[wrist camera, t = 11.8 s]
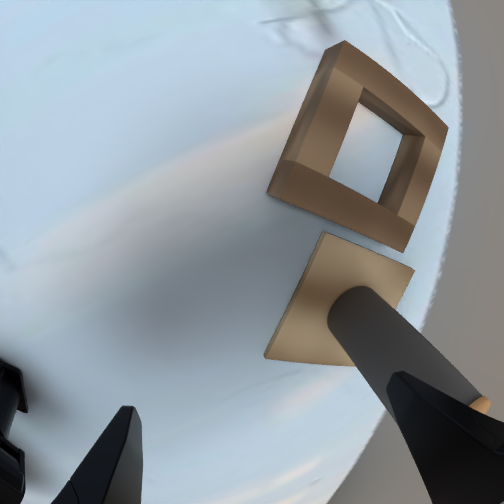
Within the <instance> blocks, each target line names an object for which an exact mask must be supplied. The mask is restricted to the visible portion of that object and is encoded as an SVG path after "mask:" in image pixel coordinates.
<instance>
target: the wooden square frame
mask: <svg viewBox="0 0 504 504" xmlns="http://www.w3.org/2000/svg"><path fill="white" fill-rule="evenodd" d="M358 102H359V103H361V104H362V105H364V106H365V107H367V108H368V109H370V110H371V111H372V112H374V113H375V114H377V115H378V116H379V117H381V118H382V119H383V120H385V121H386V122H387V123H389V124H390V125H391V126H393V127H394V128H395V129H397V130H398V131H399V132H400V133H402V134H403V138H402V141H401V143H400V146H399V149H398V152H397V155H396V158H395V160H394V163H393V166H392V169H391V171H390V174H389V177H388V179H387V182H386V184H385V187H384V189H383V192H382V194H381V197H380V199H379V202H378V204H377V203H376V202H374V201H372V200H370V199H369V198H367V197H365V196H363V195H361V194H359V193H358V192H356V191H354V190H352V189H350V188H348V187H346V186H344V185H343V184H341V183H339V182H337V181H335V180H333V179H331V178H329V175H330V172H331V170H332V167H333V165H334V162H335V160H336V157H337V155H338V152H339V150H340V147H341V145H342V142H343V140H344V137H345V135H346V132H347V129H348V127H349V124H350V122H351V119H352V116H353V114H354V111H355V108H356V106H357V103H358ZM448 128H449V127H448V126H447V125H446V124H445V123H444V122H443V121H442V120H441V119H440V118H439V117H438V116H437V115H436V114H435V113H434V112H433V111H432V110H431V109H430V108H429V107H428V106H427V105H426V104H425V103H424V102H423V101H422V100H421V99H419V98H418V97H417V96H416V95H415V94H414V93H413V92H412V91H411V90H410V89H408V88H407V87H406V86H405V85H404V84H403V83H401V82H400V81H399V80H398V79H397V78H395V77H394V76H393V75H392V74H391V73H389V72H388V71H387V70H386V69H384V68H383V67H382V66H380V65H379V64H378V63H376V62H375V61H374V60H372V59H371V58H370V57H368V56H367V55H366V54H364V53H363V52H361V51H360V50H359V49H357V48H356V47H354V46H353V45H351V44H350V43H348V42H347V41H345V40H344V41H342V42H340V43H338V44H336V45H334V46H332V47H330V48H328V49H326V50H325V52H324V55H323V57H322V59H321V62H320V64H319V66H318V69H317V71H316V74H315V76H314V78H313V81H312V83H311V85H310V88H309V90H308V93H307V95H306V97H305V100H304V102H303V105H302V107H301V109H300V112H299V114H298V116H297V119H296V121H295V124H294V126H293V129H292V131H291V133H290V136H289V138H288V141H287V143H286V145H285V148H284V150H283V153H282V155H281V158H280V160H279V162H278V165H277V167H276V170H275V172H274V175H273V177H272V179H271V182H270V184H269V187H268V189H267V193H269V194H271V195H273V196H274V197H276V198H278V199H280V200H283V201H285V202H288V203H290V204H293V205H295V206H298V207H300V208H303V209H305V210H307V211H310V212H312V213H315V214H317V215H319V216H322V217H324V218H326V219H329V220H331V221H333V222H336V223H338V224H340V225H342V226H345V227H347V228H349V229H352V230H354V231H356V232H358V233H360V234H363V235H365V236H367V237H369V238H371V239H374V240H376V241H378V242H380V243H382V244H384V245H386V246H389V247H391V248H393V249H395V250H397V251H399V252H401V253H403V252H404V250H405V248H406V246H407V244H408V241H409V239H410V237H411V234H412V232H413V230H414V227H415V225H416V223H417V220H418V218H419V215H420V213H421V210H422V207H423V205H424V202H425V200H426V197H427V194H428V192H429V189H430V186H431V183H432V180H433V177H434V174H435V171H436V168H437V165H438V162H439V159H440V156H441V152H442V149H443V146H444V142H445V139H446V135H447V132H448Z"/></svg>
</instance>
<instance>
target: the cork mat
mask: <svg viewBox="0 0 504 504" xmlns="http://www.w3.org/2000/svg"><path fill="white" fill-rule="evenodd" d="M414 272H415V270H414V269H412V268H410V267H408V266H405V265H403V264H401V263H399V262H396V261H394V260H392V259H389V258H387V257H385V256H383V255H380V254H378V253H376V252H373V251H371V250H368V249H366V248H364V247H361V246H359V245H357V244H354V243H352V242H349V241H347V240H344V239H342V238H340V237H337V236H335V235H332V234H330V233H327V232H325V231H323V232H322V234H321V236H320V239H319V241H318V243H317V245H316V247H315V250H314V252H313V254H312V256H311V259H310V261H309V263H308V265H307V267H306V269H305V272H304V274H303V276H302V278H301V280H300V282H299V284H298V286H297V289H296V291H295V293H294V295H293V297H292V299H291V301H290V303H289V305H288V307H287V309H286V311H285V313H284V315H283V317H282V319H281V321H280V323H279V325H278V327H277V329H276V331H275V333H274V335H273V337H272V339H271V341H270V343H269V345H268V347H267V349H266V351H265V353H264V357H265V359H272V360H281V361H289V362H299V363H310V364H322V365H336V366H354V367H356V366H355V364H354V363H353V362H352V360H351V359H350V357H349V356H348V355H347V353H346V352H345V351H344V349H343V348H342V346H341V345H340V344H339V342H338V341H337V340H336V338H335V337H334V335H333V334H332V333H331V331H330V330H329V328H328V325H327V318H328V314H329V311H330V309H331V307H332V305H333V304H334V302H335V301H336V300H337V299H338V298H339V297H340V296H341V295H342V294H344V293H345V292H346V291H348V290H350V289H352V288H355V287H359V286H366V287H370V288H371V289H373V290H374V291H375V292H376V293H377V294H378V295H379V296H381V297H382V298H383V299H384V300H385V301H386V302H387V303H388V304H389V305H390V306H392V307H393V308H394V309H395V308H396V307H397V305H398V303H399V301H400V299H401V297H402V295H403V294H404V292H405V290H406V288H407V286H408V284H409V282H410V280H411V278H412V276H413V274H414Z"/></svg>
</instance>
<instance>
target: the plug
mask: <svg viewBox="0 0 504 504" xmlns="http://www.w3.org/2000/svg"><path fill="white" fill-rule="evenodd" d="M327 325H328V328H329V330H330V331H331V333H332V334H333V335H334V337H335V338H336V340H337V341H338V342H339V344H340V345H341V346H342V348H343V349H344V351H345V352H346V353H347V355H348V356H349V357H350V359H351V360H352V362H353V363H354V364H355V366H356V367H357V368H358V370H359V371H360V373H361V374H362V375H363V377H364V378H365V380H366V381H367V382H368V384H369V385H370V387H371V388H372V389H373V391H374V392H375V394H376V395H377V396H378V398H379V399H380V401H381V402H382V403H383V405H384V406H385V408H386V409H387V410H388V412H389V413H390V415H391V416H392V417H393V419H394V420H395V422H396V423H397V421H396V419H395V416H394V413H393V410H392V407H391V404H390V401H389V398H388V396H387V393H386V386H387V384H388V382H389V379H390V377H391V375H392V373H394V372H396V371H400V370H404V371H406V372H407V373H409V374H411V375H413V376H415V377H416V378H418V379H420V380H422V381H424V382H425V383H427V384H429V385H431V386H433V387H434V388H436V389H438V390H440V391H442V392H444V393H445V394H447V395H449V396H451V397H453V398H455V399H456V400H458V401H460V402H462V403H464V404H466V405H468V406H469V407H471V408H473V409H475V410H477V411H479V412H481V413H483V414H485V413H486V412H487V411H488V408H489V407H490V405H491V402H490V401H489V400H488V399H487V398H486V397H485V396H482V395H481V394H480V393H479V392H478V391H477V390H476V389H475V388H474V386H473V385H472V384H471V383H470V382H469V381H468V380H467V379H466V378H465V377H464V376H463V375H462V374H461V373H460V372H459V371H458V370H457V369H456V368H455V367H454V366H453V365H452V364H451V363H450V362H449V361H448V360H447V359H446V358H445V357H444V356H443V355H442V354H441V353H440V352H439V351H438V350H437V349H436V348H435V347H434V346H433V345H432V344H431V343H430V342H429V341H428V340H427V339H426V338H425V337H424V336H422V334H420V333H419V332H418V331H417V330H416V329H415V328H414V327H413V326H412V325H411V324H410V323H409V322H408V321H407V320H406V319H405V318H403V317H402V316H401V315H400V314H399V313H398V312H397V311H396V310H395V309H394V308H393V307H392V306H390V305H389V304H388V303H387V302H386V301H385V300H384V299H383V298H382V297H381V296H379V295H378V294H377V293H376V292H375V291H374V290H373V289H371V288H370V287H366V286H359V287H355V288H352V289H350V290H348V291H346V292H345V293H344V294H342V295H341V296H340V297H339V298H338V299H337V300H336V301H335V302H334V304H333V305H332V307H331V309H330V311H329V314H328V318H327ZM397 425H398V424H397Z"/></svg>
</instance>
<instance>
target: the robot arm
mask: <svg viewBox="0 0 504 504" xmlns="http://www.w3.org/2000/svg"><path fill="white" fill-rule="evenodd" d="M386 393H387V396H388V398H389V401H390V404H391V407H392V410H393V413H394V416H395V419H396V421H397V424H398V426H399V428H400V430H401V433H402V435H403V437H404V439H405V441H406V443H407V445H408V447H409V450H410V452H411V454H412V457H413V459H414V461H415V463H416V465H417V468H418V470H419V472H420V475H421V477H422V479H423V481H424V484H425V486H426V489H427V491H428V494H429V496H430V498H431V501H432V503H433V504H504V422H501V421H498V420H496V419H494V418H491V417H489V416H487V415H485V414H483V413H481V412H479V411H477V410H475V409H473V408H471V407H469V406H468V405H466V404H464V403H462V402H460V401H458V400H456V399H455V398H453V397H451V396H449V395H447V394H445V393H444V392H442V391H440V390H438V389H436V388H434V387H433V386H431V385H429V384H427V383H425V382H424V381H422V380H420V379H418V378H416V377H415V376H413V375H411V374H409V373H407V372H406V371H404V370H400V371H396V372H394V373H392V375H391V377H390V379H389V382H388V384H387V386H386ZM16 410H19V411H21V412H24V413H28V410H29V409H28V404H27V400H26V395H25V390H24V385H23V379H22V374H21V372H20V371H19V370H18V369H17V368H14V367H12V366H10V365H7V364H5V363H3V362H1V361H0V504H20V503H21V501H22V499H23V497H24V494H25V453H24V451H22V450H21V449H18V448H17V447H16V446H14V445H13V444H12V443H11V442H9V441H8V440H7V438H8V434H9V431H10V428H11V425H12V422H13V419H14V416H15V413H16ZM142 474H143V452H142V424H141V420H140V417H139V415H138V413H137V411H136V408H135V407H134V406H122V407H121V408H120V409H119V411H118V412H117V413H116V415H115V416H114V417H113V419H112V420H111V422H110V423H109V424H108V426H107V427H106V429H105V430H104V431H103V433H102V434H101V436H100V437H99V438H98V440H97V441H96V443H95V444H94V445H93V447H92V448H91V450H90V451H89V452H88V454H87V455H86V457H85V458H84V459H83V461H82V462H81V464H80V465H79V466H78V468H77V469H76V471H75V472H74V474H73V475H72V476H71V478H70V480H68V482H67V483H66V485H65V486H64V488H63V489H62V490H61V492H60V493H59V494H58V496H57V497H56V498H55V499H54V500H53V502H52V503H51V504H141V491H142Z"/></svg>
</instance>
